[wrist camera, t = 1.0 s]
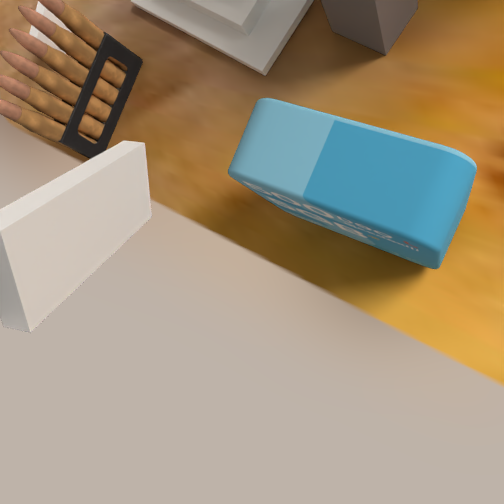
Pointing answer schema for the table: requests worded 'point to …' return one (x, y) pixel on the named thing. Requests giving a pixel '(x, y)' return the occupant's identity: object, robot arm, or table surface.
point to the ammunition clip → (88, 56)
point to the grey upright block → (370, 20)
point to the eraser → (50, 16)
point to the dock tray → (234, 25)
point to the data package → (356, 179)
